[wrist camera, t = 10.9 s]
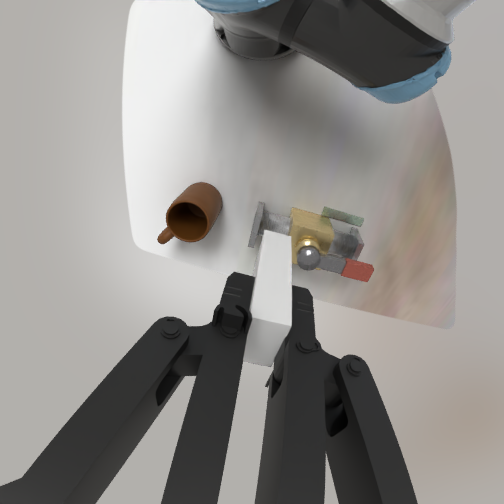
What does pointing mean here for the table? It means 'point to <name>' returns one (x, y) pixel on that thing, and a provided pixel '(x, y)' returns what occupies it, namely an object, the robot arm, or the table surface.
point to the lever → (333, 264)
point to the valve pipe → (311, 231)
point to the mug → (192, 213)
